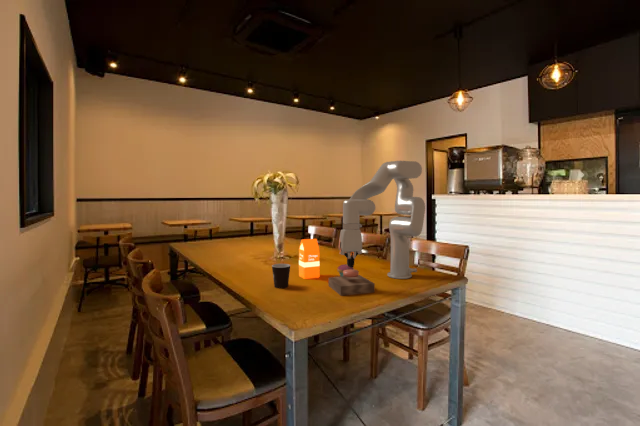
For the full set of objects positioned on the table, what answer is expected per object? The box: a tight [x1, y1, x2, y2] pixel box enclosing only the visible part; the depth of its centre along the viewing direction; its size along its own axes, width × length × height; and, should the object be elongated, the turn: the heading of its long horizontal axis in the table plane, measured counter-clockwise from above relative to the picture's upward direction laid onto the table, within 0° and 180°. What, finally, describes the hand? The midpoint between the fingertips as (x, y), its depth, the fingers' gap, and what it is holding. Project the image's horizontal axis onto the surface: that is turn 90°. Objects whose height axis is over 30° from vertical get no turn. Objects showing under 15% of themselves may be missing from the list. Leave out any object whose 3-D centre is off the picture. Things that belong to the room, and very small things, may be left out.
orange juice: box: [298, 238, 321, 280], centre depth 172 cm, size 8×9×20 cm
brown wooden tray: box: [328, 274, 376, 296], centre depth 149 cm, size 16×16×4 cm
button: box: [343, 269, 359, 277], centre depth 149 cm, size 7×7×2 cm
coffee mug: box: [271, 263, 291, 289], centre depth 155 cm, size 12×9×10 cm
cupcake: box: [336, 263, 355, 277], centre depth 169 cm, size 9×8×12 cm
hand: (350, 266), depth 149 cm, fingers closed
